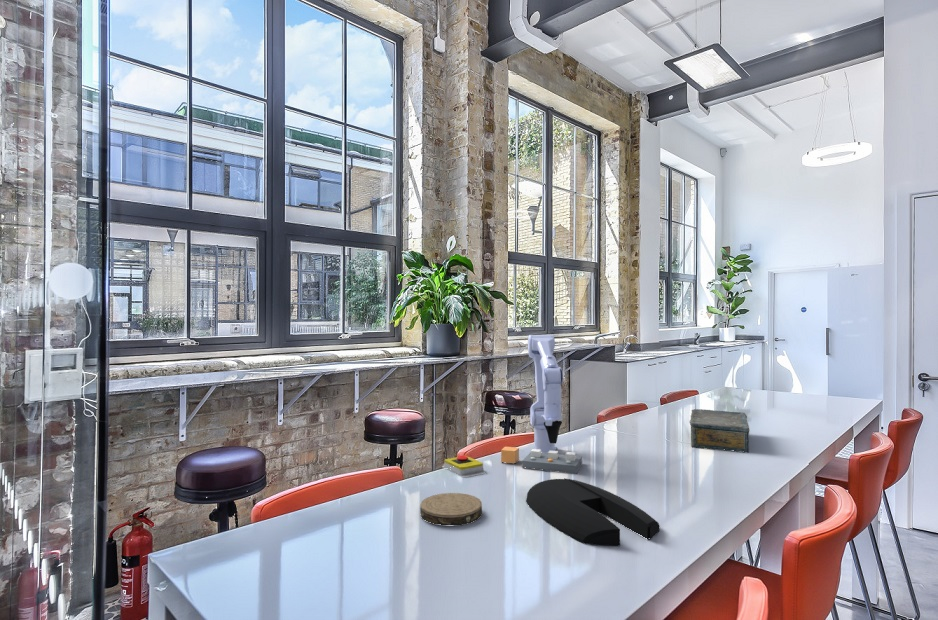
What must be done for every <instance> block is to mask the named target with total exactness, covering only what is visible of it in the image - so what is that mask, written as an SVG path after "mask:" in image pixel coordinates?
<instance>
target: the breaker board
mask: <svg viewBox="0 0 938 620" xmlns="http://www.w3.org/2000/svg"><path fill="white" fill-rule="evenodd" d="M521 463H522V465H521V466H522V467H526V468H535V469H534V470H536V469H543V470H542V471H545V470H551V471H550V472H555V471H559V472H558V473H565V472H566V473H565V474H568V473H569V474H578V471H579V469H580V468H581V467H582V465H583V456H582V455H581V456H580V455H577V452H572V451H567V452H565V454H560V453H558V459H557V460H556V459H548V453H541V450H539V449H534V448H532V449H531V450H530V452H529V453H528V454H527V455H526V456H525V457H524V458H523V460H522V461H521ZM522 467H521V468H522ZM526 468H525V469H526Z"/></svg>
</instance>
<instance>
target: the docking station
mask: <svg viewBox="0 0 938 620" xmlns="http://www.w3.org/2000/svg"><path fill="white" fill-rule="evenodd" d="M526 502H527V503H526ZM525 503H526V505H527V506H528V505H529V506H528V508H530V509H531V511H533V512H534V513H535V514H536V515H537V516H538V517H539V518H540V519H542V520H543V521H544V522H546V523H547V524H549V525H550V526H551V527H553V528H554V529H556V530H557V531H559V532H561V533H562V532H563V534H564V535H566V536H568V537H569V536H570V537H569V538H572V539H574V540H575V541H577V542H580V543H581V544H584V543H585V544H588V545H597V546H615V547H616V546H617V547H619V546H618V545H620V546H621V529H620V527H618V526H617V524H619V523H620V524H619V525H621V524H622V525H624V526H625V527H624V526H623V527H624V528H626V527H627V528H629V529H631V530H632V531H631V530H630V531H631V532H633V531H634V532H636V533H638V534H640V535H642V536H643V537H645V538H647V539H648V538H650V539H648V540H652V539H653V538H654V537H655V536H654V535H655V534H656V533H657V532H658V531H659V532H660V529H659V527H660V524H659V522H658V521H657V520H656V519H655V518H653V517H652V516H651V515H650V514H648V513H647V512H646V511H644V510H643V509H641V508H640V507H638V506H636V505H635V504H633V503H632V502H630V501H628V500H626V499H624V498H622V497H621V496H618V495H617V494H614V493H613V492H611V491H608V490H606V489H603V488H601V487H599V486H595V485H593V484H590V483H587V482H583V481H580V480H576V479H571V478H553V479H552V478H551V479H546V480H543V481H540V482H538V483H535V484H534V485H533V486H532V487H530V488H529V489H528V491H527V494H526V499H525ZM600 512H601V513H600ZM607 516H608V517H607ZM609 517H610V518H609ZM609 519H611V520H612V519H613V520H612V521H614V520H615V521H614V522H615V523H617V522H618V523H617V524H615V523H613V522H612V521H611V520H609ZM622 525H621V526H622ZM627 528H626V529H627ZM629 529H628V530H629ZM634 532H633V533H634ZM659 532H658V533H659ZM636 533H635V534H636ZM658 533H657V534H658ZM638 534H637V535H638ZM657 534H656V535H657ZM653 536H654V537H653ZM643 537H642V538H643ZM585 544H584V545H585Z"/></svg>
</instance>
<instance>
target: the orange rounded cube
mask: <svg viewBox="0 0 938 620" xmlns="http://www.w3.org/2000/svg"><path fill="white" fill-rule="evenodd" d="M519 449H520V448H519V447H517V446H516V447H513V446H504V447H503V448H502V449H501V450H500V457H501V458H500V459H501V461H500V463H501V462H506V463H505V464H507V463H516V462H517V461H518V460H519V461H520V450H519ZM519 461H518V462H519ZM518 462H517V463H518ZM517 463H516V464H517Z"/></svg>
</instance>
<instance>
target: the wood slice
mask: <svg viewBox="0 0 938 620" xmlns="http://www.w3.org/2000/svg"><path fill="white" fill-rule="evenodd" d="M482 505H483V503H482V501H481V499H480V498H478V497H477V496H475V495H471V494H469V493H459V492H446V493H439V494H438V493H437V494H434V495H431V496H428V497H425V498H424V499H423V500H421V503H420V506H419V507H420V508H419V509H420V513H419V514H421V515H420V517H422V518H423V519H424V520H426V521H428V522H431V523H434V524H441V525H460V526H463V525H462V524H466V525H468V524H467V523H470V524H472V523H474V522H473V521H475V520H477V519H478V518H479V517H480V516H481V517H482V515H481V514H482V513H483V510H482V509H483V506H482ZM481 517H480V518H481ZM422 518H421V519H422ZM480 518H479V519H480ZM423 519H422V520H423ZM479 519H478V520H479ZM424 520H423V521H424ZM478 520H477V521H478ZM426 521H425V522H426ZM428 522H427V523H428ZM471 522H472V523H471ZM475 522H476V521H475ZM431 523H430V524H431Z"/></svg>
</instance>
